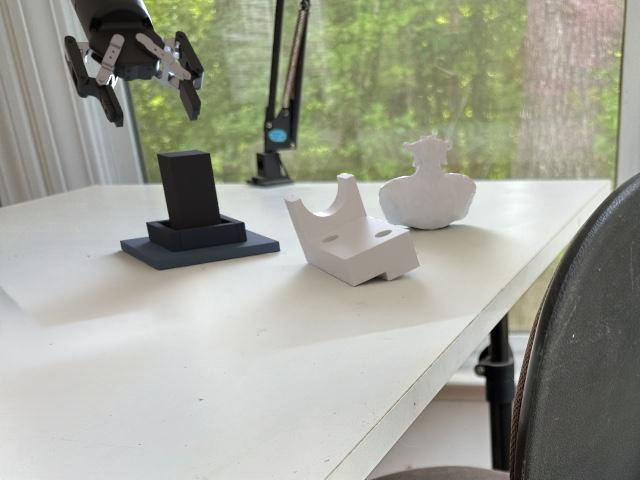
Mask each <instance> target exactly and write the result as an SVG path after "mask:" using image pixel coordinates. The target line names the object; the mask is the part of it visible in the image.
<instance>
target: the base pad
mask: <svg viewBox="0 0 640 480" xmlns="http://www.w3.org/2000/svg"><path fill="white" fill-rule="evenodd" d="M220 217H221V223H222V224H218V225H211V226H204V227H197V228H190V229H183V230H177V231H175V230H173V229H171V226H170V221H169V218H167V219H160V220H159V219H158V220H155V221H154V220H153V221H146V222H145V224H146V229H147V230H146V231H147V236H143V237H136V238H128V239H120V240H119V243H120V248H121V250H122V251H123V252H125V253H128V254H129V255H131V256H133V257H135V258H137V259H138V260H141V261H142V262H144V263H145V264H148V265H150V266H151V267H153V268H154V269H156V270H158V271H160V270H161V271H162V270H167V269H174V268H180V267H186V266H187V267H188V266H193V265H199V264H205V263H212V262H218V261H225V260H229V259H230V260H231V259H236V258H243V257H248V256H255V255H261V254H267V253H273V252H280V251H281V245H280V241H279V240H276V239H273V238H270V237H268V236H265V235H262V234H260V233H257V232H254V231H252V230H249V229H247V228H246V223H245V222H244V221H241V220H239V219H236V218H233V217H231V216H227V215H225V214H222V213H220Z"/></svg>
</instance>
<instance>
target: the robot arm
mask: <svg viewBox="0 0 640 480" xmlns="http://www.w3.org/2000/svg"><path fill="white" fill-rule="evenodd" d="M70 3H71V5H72V7H73V10H74V12H75V14H76V17H77V19H78V21H79V24H80V26H81V28H82V30H83V33H84V35H85V37H86V40H87V41H86V42H85V41H77V39H76V37H74V36H72V35H65V36H64V38H63V41H64V44H63V45H64V49H63V50H64V60H65V62H66V65H67V68H68V70H69V74H70V77H71V80H72V82H73V85H74V88H75V91H76V93H77V95H78V97H80V98H82V99H87V98H88V97H89V96H90V97H92V98H93V97H94V98H95V99H96V100H97V101H99V103H100V106H101V108H102V110H103V113H104V115H105V117H106V119H107V121H108V122H109V123H114V126H115V128H123V127H124V121H125V115H124V110H123V108H122V106H121V104H120V102H119V99H118V96H117V95H116V92H115V90H114V89H115V86H116V84H117V82H118V79H122V80H123V81H124V82H132V81H135V80H141V81H152V79H153V80H155V81H156V82H157V83H159V84H160V85H162V86H163V87H170V88H171V89H173V90H174V91H176V92H177V93H178V94H179V99H180V101H181V103H182V106H183V108H184V110H185V112H186V114H187V117H188V119H189V121H191V122H193V121H195V122H197V121H198V118H199V116H200V115H201V109H202V108H201V107H202V100H201V99H200V96H199V94H198V92H197V91H200V90H202V89H203V82H204V81H203V80H204V74H205V69H204V67H203V65H202V63H201V61H200V59H199V57H198V55H197V54H196V51H195V50H194V48H193V46H192V44H191V42H190V40H189V38H188V36H187V34H186V33H185V32H184V31H182V30H177V31H176V32H175V35H174V37H170V38H169V37H168V38H163V37H162V36H161V35H160V34H159V33H158V32H157V31H156V30H155V28H154V25H153V22H152V19H151V16H150V14H149V12H148V10H147V7H146V5H145V3H144V1H143V0H70ZM88 57H90V58H91V59H92V60H93V61H94V62H96V63H97V64H98V65H100V67H99V70H98V72H97V75H96V77H93V76H90V75H89V73H88V70H87V67H86V63H87V58H88ZM177 62H178V63H179V64H178V63H177ZM161 65H162V69H160V66H161Z"/></svg>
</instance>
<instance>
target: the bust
mask: <svg viewBox="0 0 640 480" xmlns="http://www.w3.org/2000/svg"><path fill="white" fill-rule="evenodd" d="M453 145H454V142H453V140H452V139H450V138H447V139H446V140H443V139H441V138H440V139H439V138H437V136H436V135H435V133H431V134H430V135H424V134H420V139H419V140H416V141H414V142H411V143H410V142H408V141H405V142H403V143H402V147H403V149H404V150H405V152H406V153H411V154H412V155H413V162H412V167H413V168H415V172H414V173H412V174H411V175H410V176H409V175H408V176H407V175H404V176H399V177H395V178H393V179H390V180H387V181H386V182H385V183H384V184H383V185H382V186H381V187H380V188H379V190H378V202H379V205H380V208H381V212H382V214H383V216H384V218H385V220H386V222H388V223H390V224H393V225H396V226H401V227H402V226H403V227H406V228H416V229H421V230H431V231H433V230H434V231H435V230H437V229H442V228H445V227H447V226H449V225H450V224H452V223H455V222H457V221H461V220H464V219H465V218H466V217H467V216H468V215H469V211H470V208H471V206H472V204H473V200H474V197H476V192H477V191H476V190H477V188H478V187H477V184H476V182H475V181H474V180H473V179H472V178H471V177H469V176H468V175H465V174H461V173H453V172H449V173H447V172H445V171H444V170H443V168H442V166H441V164H442V165H444V166H448V164H449V162H448V156H447V155H448V153H447V152H449V151H450V150H452V149H453Z"/></svg>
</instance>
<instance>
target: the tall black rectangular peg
mask: <svg viewBox="0 0 640 480" xmlns="http://www.w3.org/2000/svg"><path fill="white" fill-rule="evenodd" d="M156 158H157V162H158V168H159V173H160V178H161V183H162V188H163V193H164V199H165V204H166V209H167V210H166V211H167V215H168V219H169V221H170V226H171V229H173V230H175V231H177V230H183V229H190V228H197V227H204V226H211V225H218V224H222V223H221V217H220V214H221V212H220V207H219V206H220V205H219V199H218V194H217V187H216V180H215V175H214V167H213V162H212V157H211V152H206V151H202V150H198V149H191V150H181V151H172V152H161V153H156Z"/></svg>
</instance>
